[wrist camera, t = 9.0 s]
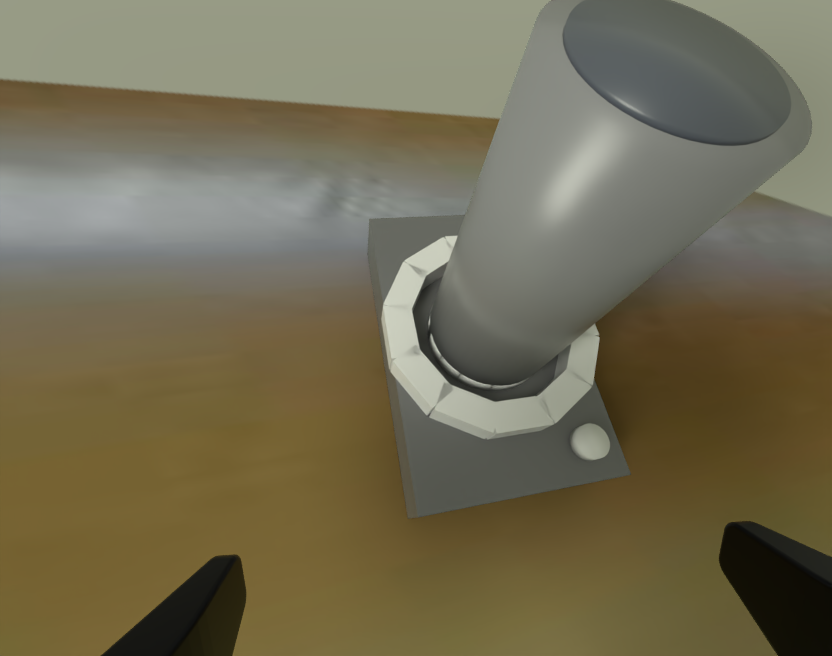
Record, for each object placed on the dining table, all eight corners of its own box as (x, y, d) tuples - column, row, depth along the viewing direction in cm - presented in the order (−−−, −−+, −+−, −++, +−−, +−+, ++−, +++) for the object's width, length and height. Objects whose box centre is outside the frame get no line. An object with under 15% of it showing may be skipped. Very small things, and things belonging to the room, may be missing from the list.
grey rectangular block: (595, 480, 19) (655, 470, 15) (403, 519, 17) (417, 518, 13) (514, 245, 25) (542, 196, 21) (363, 254, 23) (366, 202, 19)
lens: (563, 372, 18) (881, 141, 7) (453, 407, 16) (643, 183, 6) (509, 267, 20) (690, -29, 9) (408, 290, 19) (483, -31, 8)
